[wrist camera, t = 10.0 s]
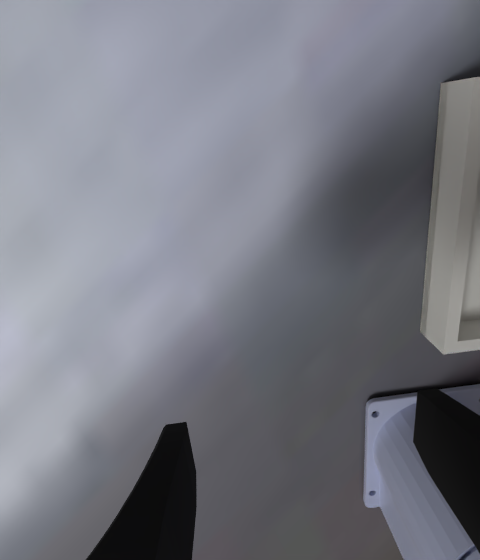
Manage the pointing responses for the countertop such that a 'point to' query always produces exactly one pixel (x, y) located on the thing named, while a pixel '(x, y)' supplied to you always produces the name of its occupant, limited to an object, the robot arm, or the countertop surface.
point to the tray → (454, 224)
